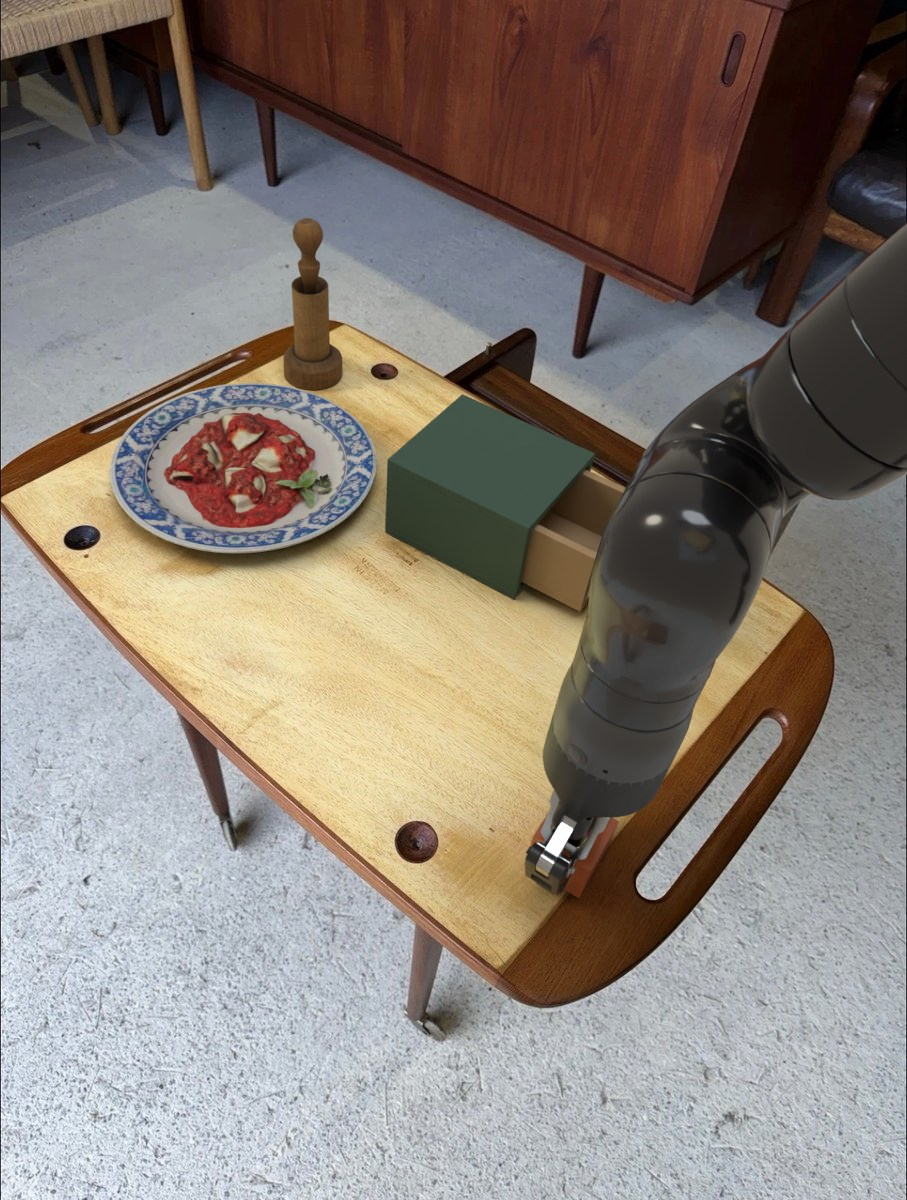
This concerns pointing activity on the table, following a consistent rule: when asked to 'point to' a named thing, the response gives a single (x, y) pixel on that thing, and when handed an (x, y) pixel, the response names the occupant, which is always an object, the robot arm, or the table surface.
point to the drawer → (571, 540)
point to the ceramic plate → (243, 468)
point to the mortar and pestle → (311, 318)
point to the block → (587, 865)
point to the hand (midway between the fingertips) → (566, 855)
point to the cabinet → (478, 490)
